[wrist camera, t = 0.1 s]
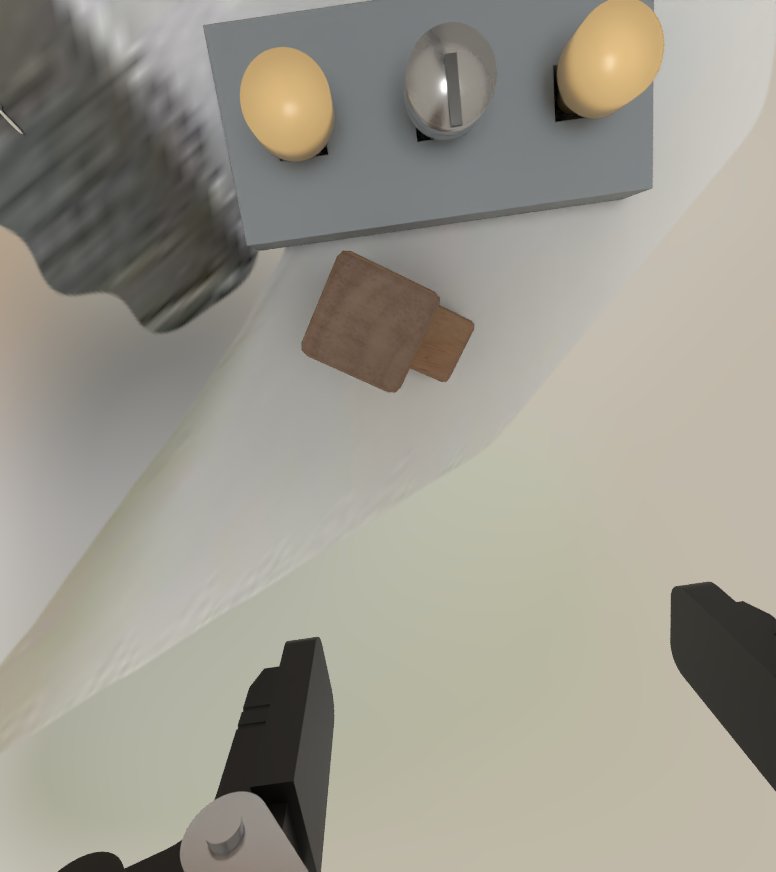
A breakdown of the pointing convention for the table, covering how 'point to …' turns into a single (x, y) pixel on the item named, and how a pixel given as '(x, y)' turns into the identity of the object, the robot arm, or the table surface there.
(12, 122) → the multimeter
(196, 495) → the table surface
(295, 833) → the robot arm
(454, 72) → the dial middle
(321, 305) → the wooden block
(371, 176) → the panel
